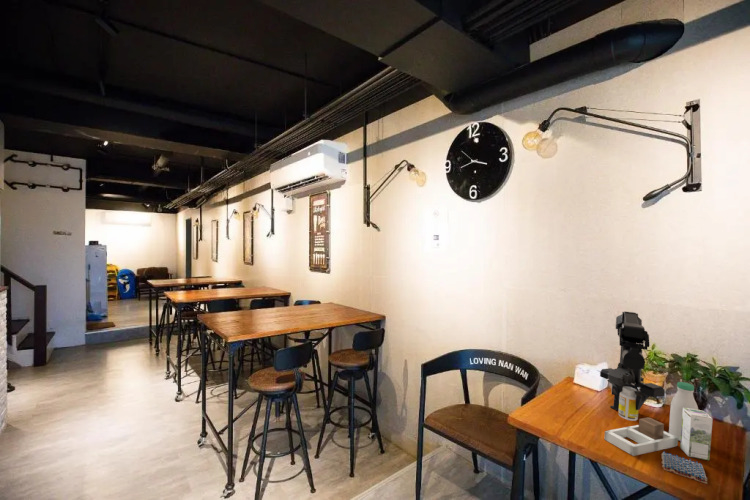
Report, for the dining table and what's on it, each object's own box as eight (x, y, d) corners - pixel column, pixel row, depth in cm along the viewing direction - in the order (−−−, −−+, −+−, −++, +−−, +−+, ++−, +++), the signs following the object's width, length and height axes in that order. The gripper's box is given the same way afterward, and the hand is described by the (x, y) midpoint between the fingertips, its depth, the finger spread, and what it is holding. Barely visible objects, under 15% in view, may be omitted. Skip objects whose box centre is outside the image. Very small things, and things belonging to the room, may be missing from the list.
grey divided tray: (647, 431, 131) (647, 423, 131) (677, 446, 122) (677, 437, 122) (604, 439, 124) (604, 431, 124) (633, 456, 115) (633, 446, 114)
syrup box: (700, 451, 119) (702, 409, 119) (710, 461, 113) (713, 417, 113) (679, 447, 121) (682, 406, 120) (688, 457, 115) (691, 414, 115)
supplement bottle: (639, 418, 122) (641, 389, 121) (634, 423, 118) (637, 393, 118) (621, 412, 126) (623, 384, 126) (615, 416, 122) (617, 387, 122)
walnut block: (647, 436, 128) (648, 417, 127) (662, 443, 123) (663, 424, 123) (638, 438, 126) (639, 418, 126) (653, 445, 121) (654, 425, 121)
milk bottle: (690, 446, 122) (694, 389, 122) (664, 435, 129) (667, 381, 128) (700, 441, 125) (704, 386, 125) (674, 430, 132) (677, 378, 132)
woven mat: (661, 471, 108) (662, 464, 108) (660, 455, 116) (660, 449, 116) (708, 486, 102) (708, 479, 102) (703, 469, 110) (703, 462, 110)
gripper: (590, 354, 128) (587, 396, 128) (642, 373, 110) (640, 421, 111) (612, 353, 132) (610, 394, 132) (666, 370, 114) (664, 417, 114)
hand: (628, 406), depth 122 cm, fingers closed on supplement bottle, 5 cm apart
